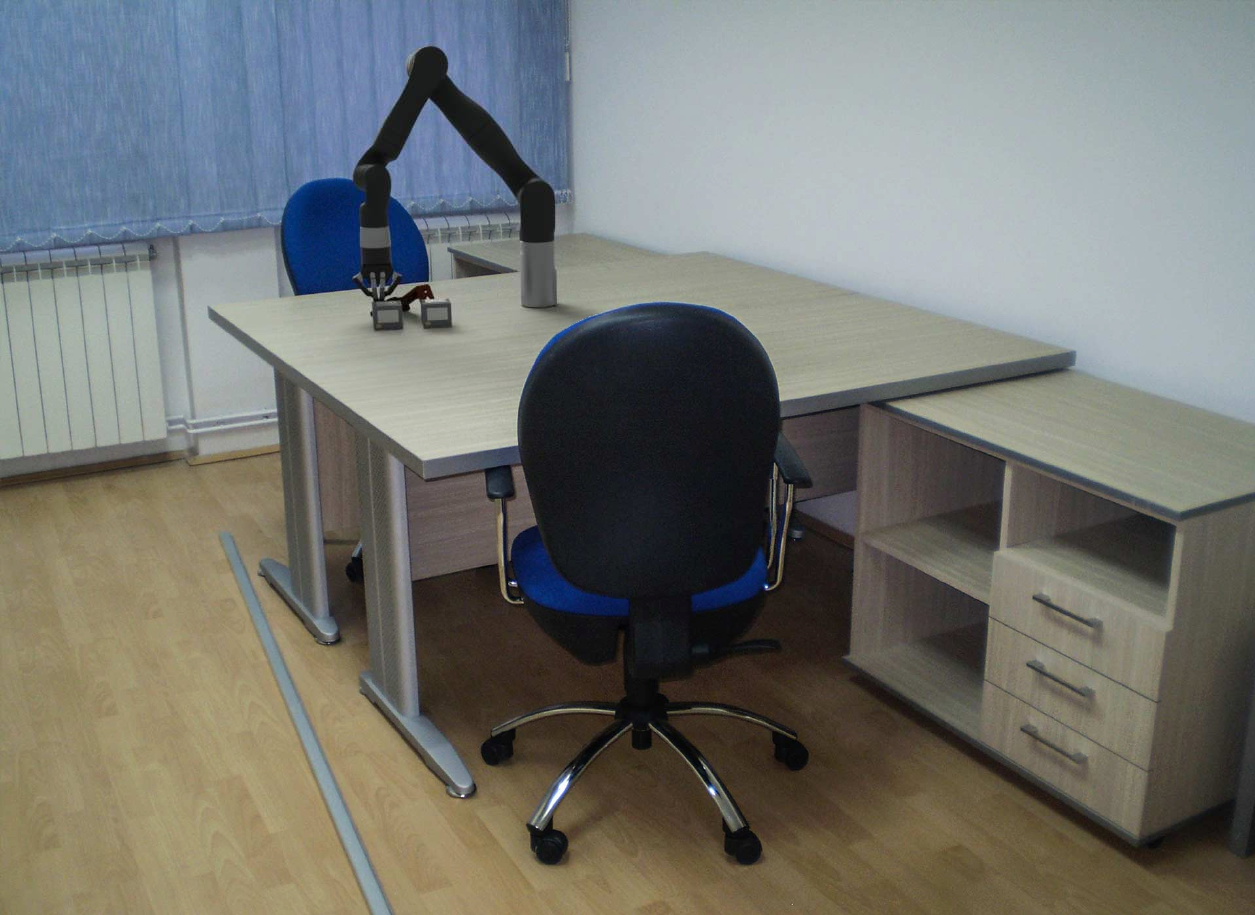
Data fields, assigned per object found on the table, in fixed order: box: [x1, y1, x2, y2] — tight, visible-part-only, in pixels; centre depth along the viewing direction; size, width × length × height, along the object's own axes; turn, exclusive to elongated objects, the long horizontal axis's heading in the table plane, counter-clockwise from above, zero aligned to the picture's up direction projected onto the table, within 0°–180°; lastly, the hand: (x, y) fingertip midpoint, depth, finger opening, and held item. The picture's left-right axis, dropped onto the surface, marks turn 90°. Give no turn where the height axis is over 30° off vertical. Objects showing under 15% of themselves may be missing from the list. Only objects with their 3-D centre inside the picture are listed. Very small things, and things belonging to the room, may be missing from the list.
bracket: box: [369, 283, 436, 317], centre depth 327 cm, size 10×14×10 cm
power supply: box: [371, 301, 404, 332], centre depth 314 cm, size 7×6×6 cm
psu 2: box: [419, 298, 453, 329], centre depth 317 cm, size 7×6×6 cm
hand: (379, 312), depth 325 cm, fingers closed
